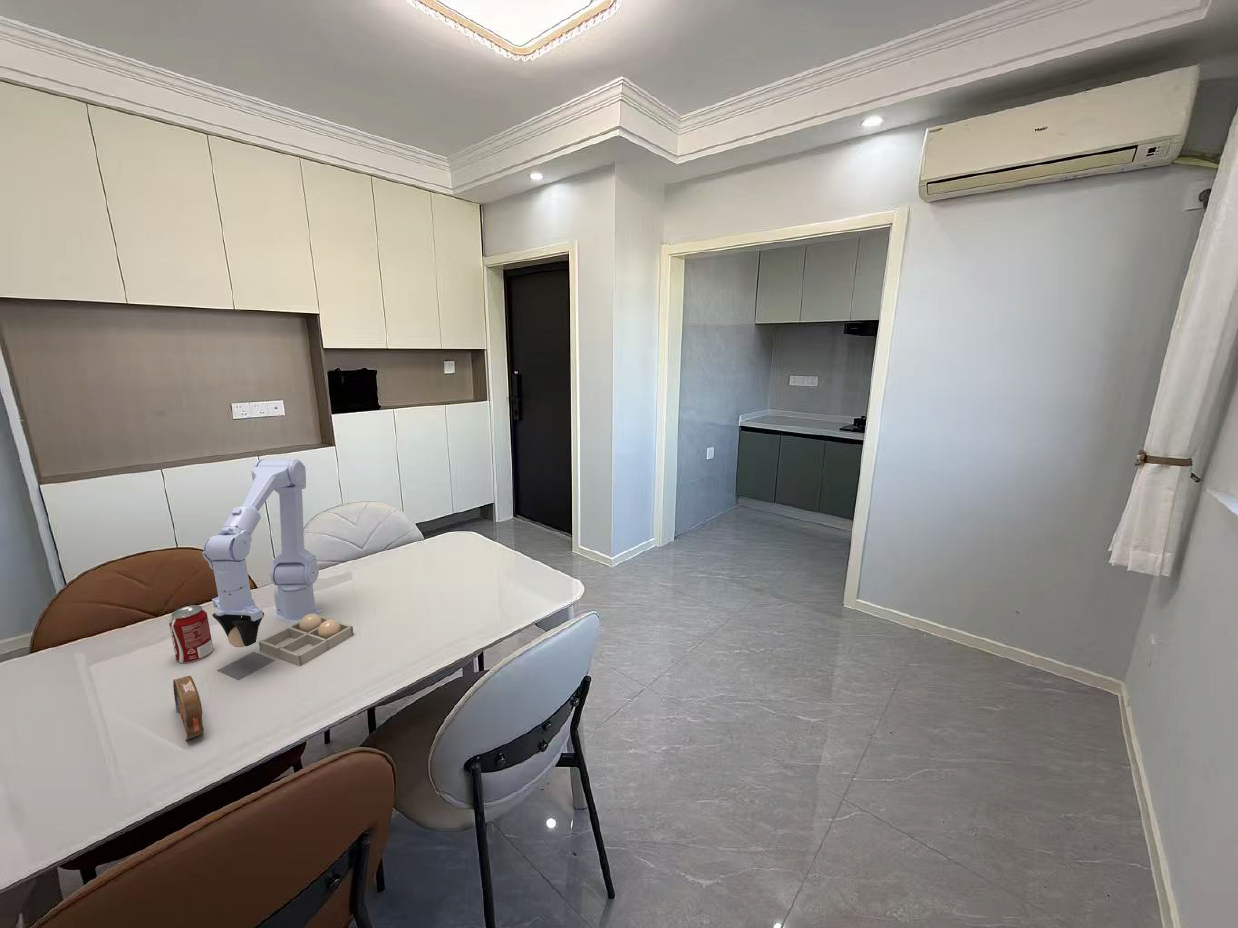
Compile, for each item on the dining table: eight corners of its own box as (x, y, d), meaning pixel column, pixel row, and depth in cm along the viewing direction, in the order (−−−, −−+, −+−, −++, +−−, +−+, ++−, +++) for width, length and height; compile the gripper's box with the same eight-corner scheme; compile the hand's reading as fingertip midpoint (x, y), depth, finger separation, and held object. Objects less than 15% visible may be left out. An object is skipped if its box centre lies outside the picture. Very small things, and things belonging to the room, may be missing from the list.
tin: (175, 709, 101) (167, 673, 99) (195, 702, 103) (188, 666, 102) (187, 749, 91) (179, 710, 89) (209, 740, 94) (202, 701, 92)
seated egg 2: (314, 641, 124) (311, 623, 123) (332, 631, 129) (330, 614, 128) (328, 646, 122) (325, 628, 121) (346, 636, 127) (344, 618, 126)
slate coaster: (216, 672, 113) (216, 670, 113) (254, 653, 120) (253, 651, 120) (239, 682, 110) (238, 680, 109) (275, 662, 117) (275, 660, 117)
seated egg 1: (295, 635, 127) (293, 617, 126) (314, 625, 131) (312, 608, 130) (309, 639, 125) (306, 621, 124) (327, 630, 130) (325, 612, 128)
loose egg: (224, 648, 112) (221, 628, 111) (248, 637, 117) (244, 617, 116) (238, 654, 110) (235, 634, 109) (262, 642, 115) (258, 622, 114)
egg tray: (260, 652, 120) (258, 641, 120) (315, 624, 133) (314, 613, 132) (300, 668, 115) (298, 656, 114) (353, 636, 128) (352, 626, 127)
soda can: (220, 652, 120) (212, 606, 118) (189, 668, 114) (180, 621, 111) (201, 646, 122) (193, 601, 120) (169, 662, 116) (160, 615, 113)
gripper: (192, 587, 109) (203, 642, 112) (234, 601, 104) (244, 658, 107) (228, 574, 116) (237, 626, 119) (268, 586, 110) (277, 641, 113)
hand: (242, 640), depth 113 cm, fingers closed on loose egg, 5 cm apart
